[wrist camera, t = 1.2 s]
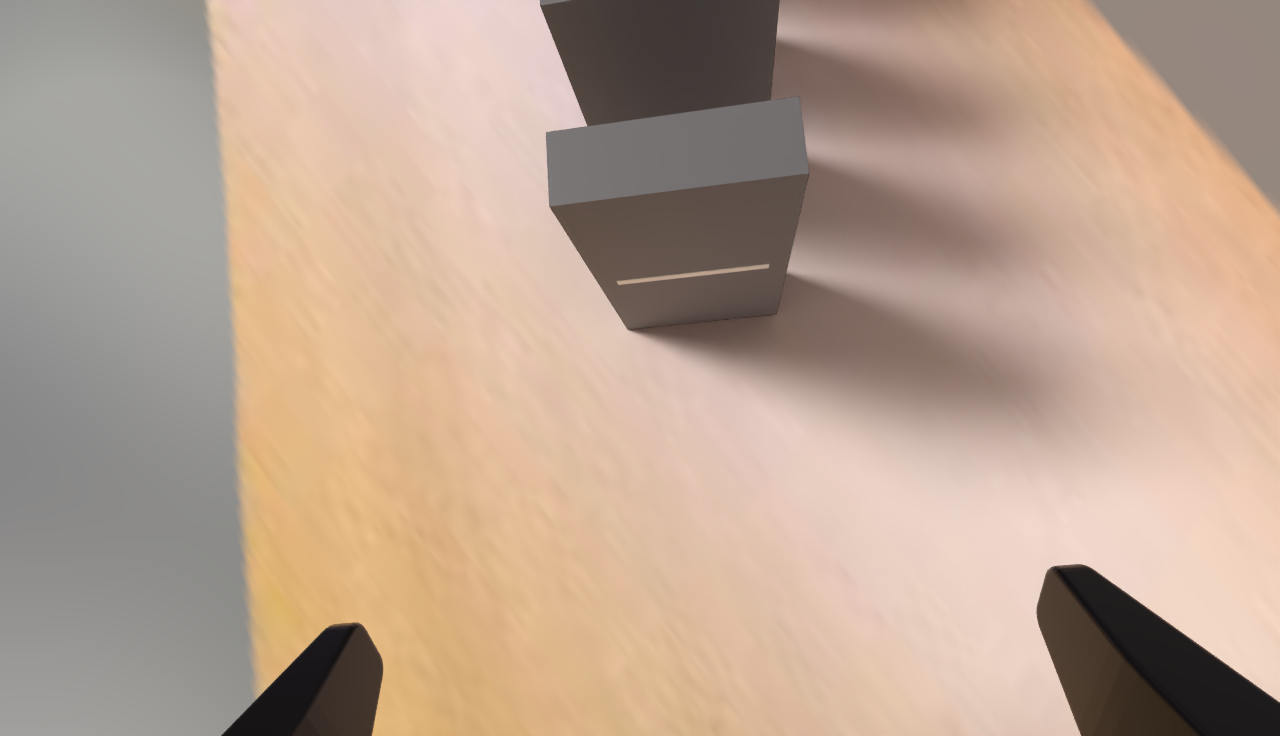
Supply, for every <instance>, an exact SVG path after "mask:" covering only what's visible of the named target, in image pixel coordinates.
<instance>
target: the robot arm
mask: <svg viewBox="0 0 1280 736" xmlns="http://www.w3.org/2000/svg"><path fill="white" fill-rule="evenodd" d="M1037 620H1038V624H1039V627H1040V630H1041V633H1042V635H1043V638H1044V640H1045V643H1046V646H1047V648H1048V651H1049V653H1050V656H1051V659H1052V661H1053V664H1054V666H1055V669H1056V672H1057V674H1058V677H1059V679H1060V682H1061V685H1062V687H1063V690H1064V692H1065V695H1066V698H1067V700H1068V703H1069V706H1070V708H1071V711H1072V713H1073V716H1074V719H1075V721H1076V724H1077V726H1078V729H1079V731H1080V734H1081V736H1280V702H1278V701H1277V700H1276V699H1274V698H1273V697H1271V696H1270V695H1269V694H1267V693H1266V692H1264V691H1263V690H1262V689H1260V688H1259V687H1257V686H1256V685H1255V684H1253V683H1252V682H1250V681H1249V680H1248V679H1246V678H1245V677H1243V676H1242V675H1241V674H1239V673H1238V672H1236V671H1235V670H1234V669H1232V668H1231V667H1229V666H1228V665H1227V664H1225V663H1224V662H1222V661H1221V660H1220V659H1218V658H1217V657H1215V656H1214V655H1213V654H1211V653H1210V652H1208V651H1207V650H1206V649H1204V648H1203V647H1201V646H1200V645H1199V644H1197V643H1196V642H1194V641H1193V640H1192V639H1190V638H1189V637H1187V636H1186V635H1185V634H1183V633H1182V632H1180V631H1179V630H1178V629H1176V628H1175V627H1173V626H1172V625H1171V624H1169V623H1168V622H1166V621H1165V620H1164V619H1162V618H1161V617H1159V616H1158V615H1157V614H1155V613H1154V612H1152V611H1151V610H1150V609H1148V608H1147V607H1145V606H1144V605H1143V604H1141V603H1140V602H1138V601H1137V600H1136V599H1134V598H1133V597H1131V596H1130V595H1129V594H1127V593H1126V592H1124V591H1123V590H1122V589H1120V588H1119V587H1117V586H1116V585H1115V584H1113V583H1112V582H1110V581H1109V580H1108V579H1106V578H1105V577H1103V576H1102V575H1101V574H1099V573H1098V572H1096V571H1095V570H1093V569H1092V568H1090V567H1088V566H1086V565H1082V564H1074V565H1061V566H1053V567H1051V568H1050V569H1049V570H1048V571H1047V573H1046V575H1045V579H1044V583H1043V586H1042V590H1041V593H1040V597H1039V601H1038V604H1037ZM382 677H383V662H382V658H381V655H380V654H379V652H378V650H377V648H376V647H375V645H374V643H373V641H372V639H371V638H370V636H369V634H368V632H367V631H366V629H365V627H364V626H363V625H362V624H360V623H343V624H334V625H331V626H329V627H328V628H326V629H325V630H324V631H323V632H322V633H321V634H320V635H319V636H318V637H317V638H316V639H315V640H314V641H313V642H312V643H311V644H310V645H309V646H308V647H307V648H306V649H305V650H304V651H303V652H302V653H301V654H300V655H299V656H298V657H297V658H296V659H295V660H294V661H293V662H292V664H291V665H290V666H289V667H288V668H287V669H286V670H285V671H284V672H283V673H282V674H281V675H280V676H279V677H278V678H277V679H276V680H275V681H274V682H273V683H272V684H271V685H270V686H269V687H268V688H267V689H266V690H265V691H264V692H263V693H262V694H261V695H260V696H259V697H258V698H257V699H256V700H255V701H254V702H253V704H252V705H251V706H250V707H249V708H248V709H247V710H246V711H245V712H244V713H243V714H242V715H241V716H240V717H239V718H238V719H237V720H236V721H235V722H234V723H233V724H232V725H231V726H230V727H229V728H228V729H227V730H226V731H225V732H224V733H223V734H222V735H221V736H372V732H373V726H374V721H375V715H376V710H377V704H378V699H379V693H380V688H381V682H382Z"/></svg>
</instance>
